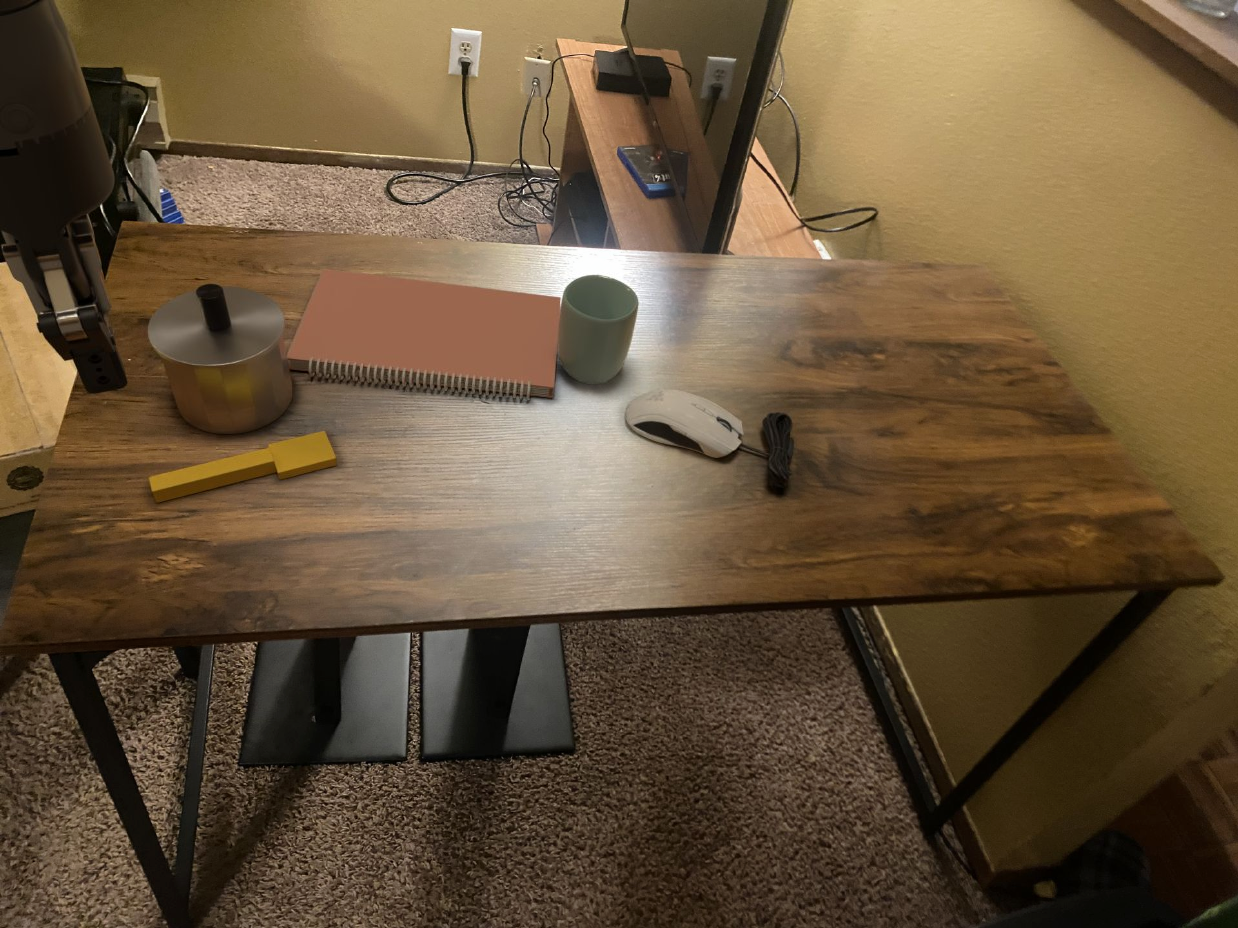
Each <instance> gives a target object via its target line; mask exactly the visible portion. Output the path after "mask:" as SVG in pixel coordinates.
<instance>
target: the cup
mask: <svg viewBox="0 0 1238 928" xmlns="http://www.w3.org/2000/svg"><path fill="white" fill-rule="evenodd" d="M639 304H640V303H639V298H638V295H637V294H636V292H635V291H634V290H633V288H632V287H630V286H629V285H627V284H626V283H625V282H622V281H621V280H618V279H616V278H613V277H610V276H606V275H603V274H602V275H601V274H587V275H582V276H580V277H577V278H575V279H573V280H572V281H570V282H569V284H567V285H566V287H565V289H564V290H563V293H562V298H561V301H560V314H559V327H558V340H557V353H558V360H559V362H560V365H561V367H562V368H563V371H564V372H565V373H566V374H567V375H569V376H570V377H571V378H573V379H574V380H576V381H578V382H580V383H583V384H588V385H601V384H604V383H606V382H609V381H610V380H612V379H613V378H614V377H616V376H617V374H618V373H619V372H620V371H621V369H622V367H623V366H624V364H625V362H626V359H627V358H628V355H629V351H630V348H631V345H632V341H633V337H634V332H635V327H636V322H637V317H638V311H639Z"/></svg>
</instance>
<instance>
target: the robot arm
mask: <svg viewBox="0 0 1238 928" xmlns="http://www.w3.org/2000/svg"><path fill="white" fill-rule="evenodd" d="M97 118H98V117H97V116H96V112H95V109H94V106H93V101H92V99H91V96H90V93H89V89H88V86H87V83H86V80H85V77H84V73H83V70H82V67H81V64H80V61H79V58H78V54H77V52H76V49H75V46H74V43H73V40H72V37H71V35H70V31H69V29H68V28H67V25H66V23H65V21H64V19H63V17H62V15H61V13H60V10H59V8H58V6H57V3H56V2H55V0H0V232H1V234H2V237H3V239H4V242H5V243H3V244H1V245H0V247H1V251H2V255H3V257H4V260H5V263H6V265H7V267H8V269H9V272H10V273H11V276H12V278H13V279H14V280H16V281H17V282H20V283H21V285H22V286H23V289H24V290H25V292H26V294H27V297H28V299H29V301H30V303H31V305H32V308H33V309H34V312H35V314H36V318H37V322H36V323H35V325H36V328H37V332H38V333H39V334H42V336H43V338H44V340H45V341H46V342H47V343H48V344H49V345H50V346H51V348H52V349H53V350H54V351H55V352H56V354H58V356H60V358H61V359H62V360H63V361H64V362H68V361H72V362H73V364H74V366H75V369H76V371H77V373H78V376H79V378H80V381H81V383H82V385H83V387H84V389H85V391H86V392H87V393H89V394H94V395H96V394H101V393H107V392H111V391H117V390H121V389H124V388H125V387H126V386H128V377H127V374H126V370H125V366H124V363H123V360H122V358H121V355H120V352H119V348H118V347H117V341H116V339H115V337H114V335H115V334H116V333H115V329H114V326H113V325H110V319H109V318H110V317H111V314H110V311H111V309H112V303H111V300H110V295H109V293H108V289H107V286H106V280H105V275H104V272H103V269H102V266H103V264H102V260H101V256H100V253H99V249H98V246H97V243H96V241H95V240H96V237H95V233H94V228H93V225H92V224H93V223H92V221H91V219H90V215H89V214H90V213H91V212H93V211H95V210H96V209H98V208H99V207H100V206H101V205H103V203H105V202H106V201H107V199H108V198H109V197H110V195H111V194H112V192H113V190H114V187H115V172H114V169H113V165H112V163H111V159H110V156H109V154H108V153H109V152H108V149H107V146H106V143H105V140H104V137H103V134H102V130H101V128H100V125H99V121H98V119H97Z"/></svg>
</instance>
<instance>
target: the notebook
mask: <svg viewBox="0 0 1238 928" xmlns="http://www.w3.org/2000/svg"><path fill="white" fill-rule="evenodd" d="M561 301H562V298H561V297H560V296H553V295H545V294H535V293H528V292H521V291H512V290H503V289H496V288H488V287H478V286H471V285H462V284H452V283H446V282H439V281H430V280H422V279H414V278H404V277H399V276H390V275H381V274H371V273H364V272H357V271H356V272H355V271H347V270H339V269H332V268H322V269H321V271H320V274H319V277H318V278H317V281H316V283H315V286H314V288H313V290H312V293H311V295H310V298H309V300H308V303H307V305H306V308H305V310H304V312H303V315H302V317H301V319H300V322H299V325H298V327H297V329H296V332H295V334H294V336H293V338H292V340H291V344H290V345H289V348H288V350H287V352H286V354H287V359H288V365H289V370H293V371H302V372H308V374H309V377H314V376H315V375H316V377H317V378H321V377H322V376H323V377H324V378H325V379H329V377H330V378H331V379H332V380H335V379H336V378H338V380H341V381H342V380H343V379H345V381H350V380H351V377H352V381H353V382H357V381H358V379H359V382H361V383H364V382H365V380H366V382H367V384H368V383H372V380H373V383H374V384H378V383H379V381H380V383H381V385H385V384H386V381H387V384H388V385H389V386H392V385H393V382H394V385H395V386H396V387H399V386H400V382H401V385H402V387H406V386H407V383H408V387H409V388H413V387H414V384H415V388H416V389H420V388H421V384H422V387H423V389H424V390H427V389H428V385H429V389H430V390H434V389H435V386H436V390H437V391H440V390H442V387H443V390H444V392H447V391H448V389H449V388H450V391H451V393H454V392H455V389H456V388H457V392H458V393H462V389H464V393H465V394H468V393H469V390H471V394H472V395H475V394H476V390H478V395H481V396H482V394H483V391H485V396H489V393H490V392H492V393H491V394H492V396H493V397H496V393H498V396H499V398H502V397H503V394H504V393H505V397H506V398H509V397H510V394H512V398H513V399H516V397H517V395H519V399H520V400H522V399H523V396H524V395H525V396H526V400H527V401H529V400H530V396H533V397H534V396H535V397H543V398H552V399H553V398H554V389H555V380H556V379H555V377H556V368H557V367H556V365H557V353H558V327H559V318H560V309H561ZM344 377H345V378H344Z"/></svg>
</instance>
